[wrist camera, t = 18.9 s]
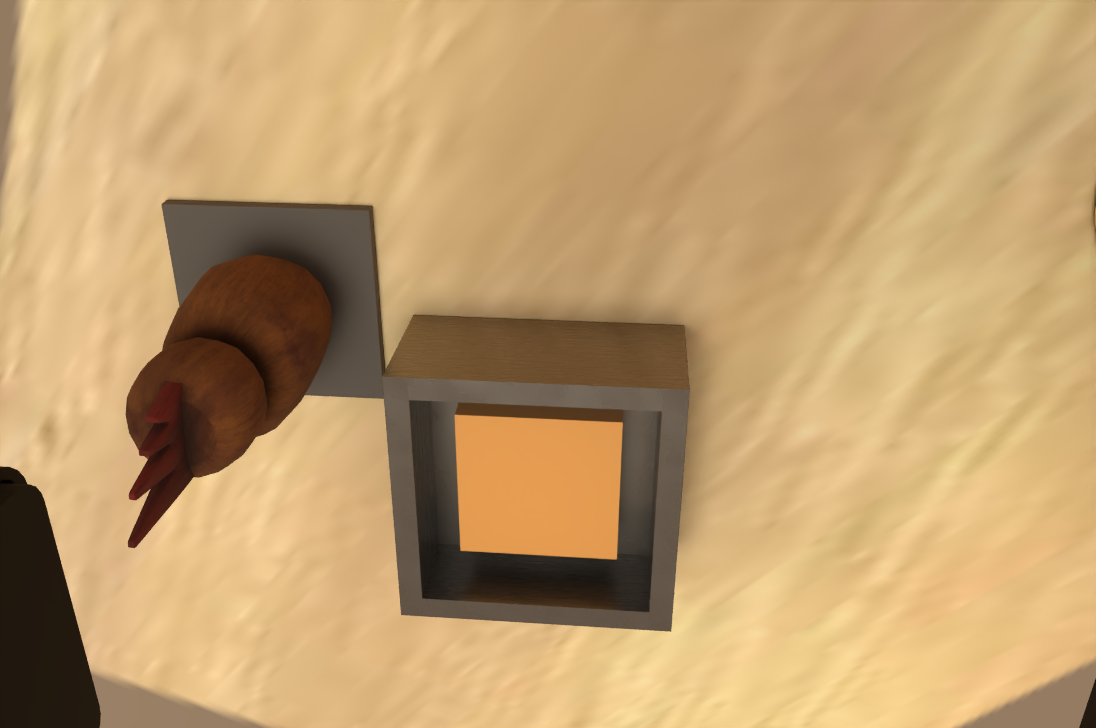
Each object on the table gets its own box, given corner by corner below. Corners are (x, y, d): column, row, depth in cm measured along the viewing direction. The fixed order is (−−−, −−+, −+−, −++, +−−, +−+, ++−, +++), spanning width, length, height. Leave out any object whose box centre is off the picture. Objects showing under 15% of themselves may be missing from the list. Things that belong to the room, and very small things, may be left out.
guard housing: (684, 325, 44) (689, 390, 38) (668, 547, 49) (671, 631, 44) (413, 315, 44) (382, 376, 39) (427, 534, 50) (401, 614, 44)
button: (623, 403, 42) (622, 422, 41) (617, 537, 46) (616, 559, 44) (460, 396, 43) (454, 414, 41) (466, 529, 46) (460, 550, 45)
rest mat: (372, 206, 42) (368, 210, 42) (386, 392, 46) (383, 398, 46) (167, 199, 43) (161, 204, 42) (199, 384, 47) (194, 390, 46)
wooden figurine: (316, 392, 46) (182, 608, 33) (198, 338, 45) (12, 536, 32) (369, 271, 43) (245, 454, 30) (244, 211, 42) (59, 371, 29)
